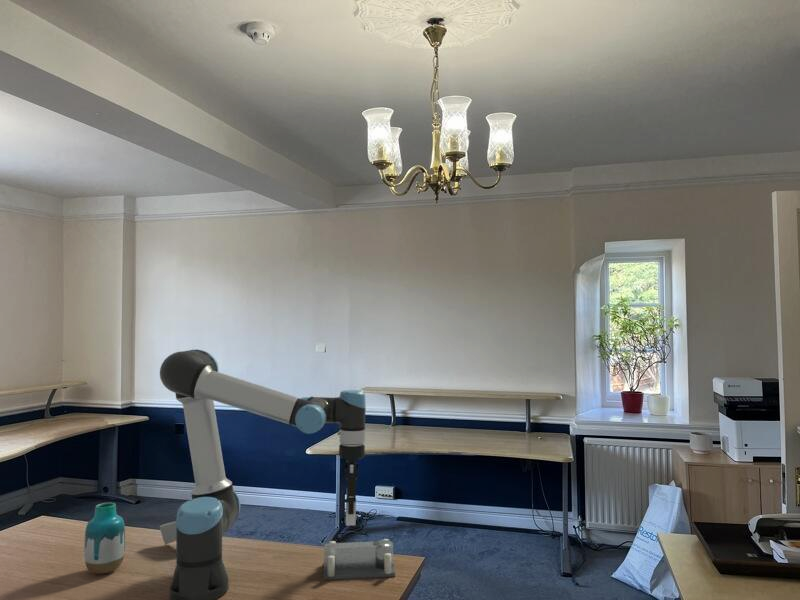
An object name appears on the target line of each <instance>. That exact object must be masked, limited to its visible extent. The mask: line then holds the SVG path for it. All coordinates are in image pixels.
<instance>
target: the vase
mask: <svg viewBox="0 0 800 600" xmlns="http://www.w3.org/2000/svg"><path fill="white" fill-rule="evenodd" d="M125 527H126V525H125V521H124V518H123V517H122V516H121V515H119V514H117V505H116V503H115V502H110V501H109V502H103V503H99V504H96V505H95V507H94V516H93V517H92V519H90V520H89V521H88V522H87V524H86V526H85V531H84V547H83V548H84V562H85V567H86V569H87V570H88V571H89V572H90V573H91V574H95V575H96V574H97V575H103V574H108V573H111V572H113V571H115V570H117V569H118V568H120V566H121V565H122V563H123V561H124V558H125V551H126V528H125Z"/></svg>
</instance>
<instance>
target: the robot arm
mask: <svg viewBox="0 0 800 600" xmlns="http://www.w3.org/2000/svg"><path fill="white" fill-rule="evenodd" d="M159 378H160V382H161V383H162V385H163V386H164V387H165V388H166V389H168V391H170V392H172V393H175V394H174V395H175V399H176V401H178V402H179V403H181V404H182V407H183V413H184V421H185V427H186V434H187V439H188V446H189V452H190V458H191V463H192V471H193V478H194V483H195V485H194V486H193V489H191V492H190V493H191V494H190V495H191V500H187V501H185V502H184V503H183V504H181V505H180V506H179V508H178V509H177V513H176V519H175V521H176V541H175V542H176V543H175V545H176V550H175V551H176V552H175V553H176V562H175V563H176V565H175V569H174V570H173V571H174V572H173V576H172V578H171V581H170V583H169V588H168V597H169V600H217V599H219V598H221V597H222V596H224V595H225V594H226V593H227V592H228V591H229V588H230V587H229V585H230V584H229V582H230V580H229V576H228V573H227V570H226V567H225V563H224V561H223V536H224V535H225V534H226V533H227V531H228V530H230V528H231V527H232V526H233V525H235V522H236V521H237V519H238V517H239V515H240V511H241V499H240V497H239V495H238V494H237V493H236V491H234V486H233V481H231V480H230V479H228V478H227V477H226V470H225V465H224V459H223V451H222V446H221V445H222V444H221V440H220V438H221V437H220V434H219V428H218V427H219V426H218V422H217V421H218V420H217V416H216V415H217V414H216V409H215V403H214V401H215V402H218V403H221V404H224V405H227V406H230V407H233V408H236V409H240V410H242V411H246V412H248V413H251V414H256V415H259V416H261V417H266V418H268V419H271V420H273V421H276V422H277V421H278V422H281V423H284V424H287V425H290V426H293V427H295V428H297V429H298V430H299V431H300V432H301V433H304V434H308V435H309V434H314V433H317V432H318V431H320V430H321V429H322V428H323V427H324V426H325V424H339V432H337V436H339V441H338V442H339V443H340V444H339V445H338V457H339V458H340V459H343V460H347V462H344V472H345V480H346V499H345V498H344V499H343V502H344V503H345V526H356V522H357V521H356V518H357V517H356V515H357V514H356V511H357V498H356V489H357V487H358V486H359V485H358V482H357V480H358V472H359V462H356V460H361V459H363V458H364V457H365V456H366V452H365V451H366V450H365V448H366V446H365V443H366V407H367V406H366V394H365V392H364V391H362V390H357V389H356V390H355V389H349V390H348V389H347V390H342V391H340V392H339V396H337V397H336V396H335V397H328V396H326V397H324V396H320V397H318V396H303V397H301V398H299V397H297V396H294V395H291V394H288V393H284V392H282V391H277V390H275V389H272V388H269V387H266V386H262V385H260V384H256V383H253V382H250V381H247V380H243V379H240V378H238V377H234V376H231V375H228V374H225V373H221V372H219V363H218V362H217V360H216V358H215V357H214V356H213V355H212V354H211V353H210V352H208V351H205V350H201V349H190V350H189V349H188V350H185V351H184V350H183V351H176V352H174V353H172V354H169V355H168V356H166V358H165V359H164V360H163V361H162V363H161V365H160V368H159Z"/></svg>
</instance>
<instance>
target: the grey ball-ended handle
mask: <svg viewBox="0 0 800 600" xmlns="http://www.w3.org/2000/svg"><path fill="white" fill-rule="evenodd" d="M388 540H389V539H388ZM388 540H383V539H380V540H379V539H378V540H376V541H357V542H336V543H329V542H328V543H324V546H323V547H324V549H323V558H324V559H323V571H325V570H328V564H327V557H328V556H335V570H337V569H360V568H378V569H384V554H386V553H390V554H391V567H392V566H393V564H394V543H393V541H391V540H389V541H388Z"/></svg>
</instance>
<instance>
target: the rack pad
mask: <svg viewBox="0 0 800 600" xmlns="http://www.w3.org/2000/svg"><path fill="white" fill-rule="evenodd" d="M382 540H388V541H390V539H388V538H384V539H382ZM328 543H337V541H334V540H330V541H329V542H328ZM327 564H328V570H323V580H325V581H327V580H348V579H349V580H351V579H371V578H372V577H374V578H389V577H390V578H393V577H394V578H395V577H396V570H395V565H394V563H393V566H392V567H391V554H390V553H386V554H384V569H378V568H360V569H337V570H335V556H328V557H327Z"/></svg>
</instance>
